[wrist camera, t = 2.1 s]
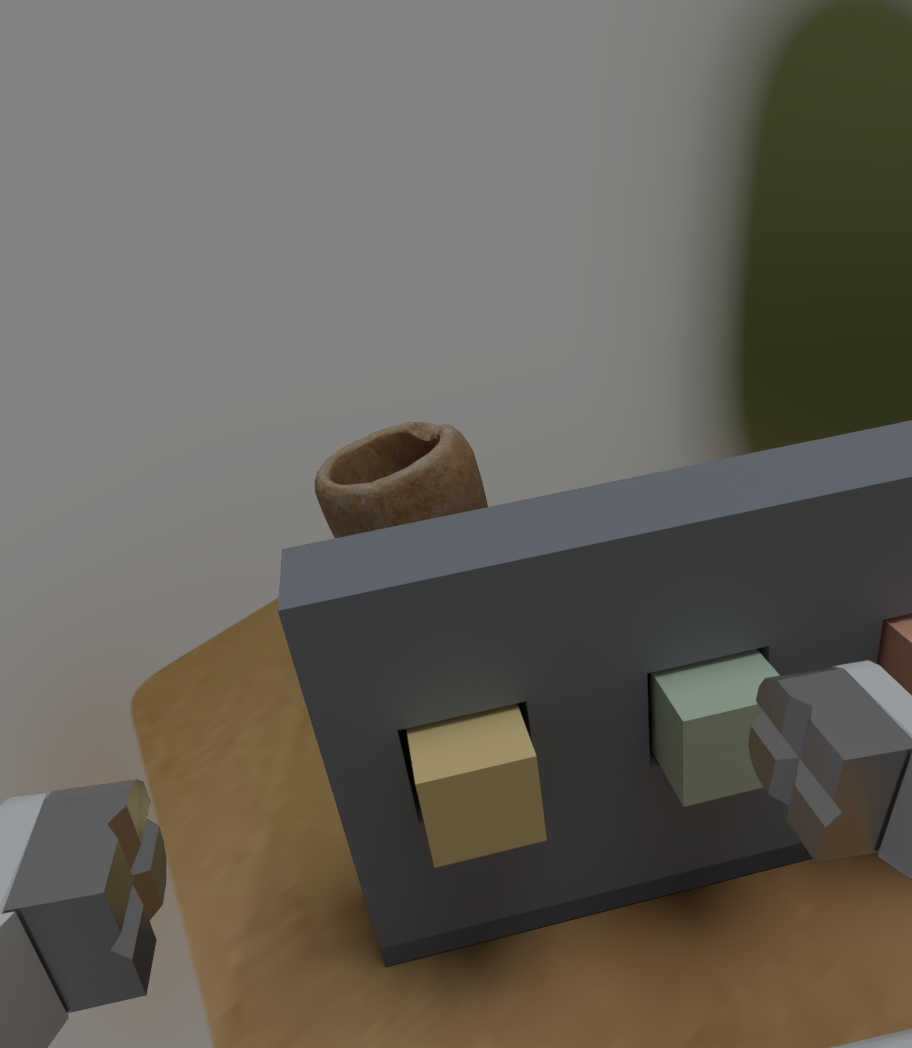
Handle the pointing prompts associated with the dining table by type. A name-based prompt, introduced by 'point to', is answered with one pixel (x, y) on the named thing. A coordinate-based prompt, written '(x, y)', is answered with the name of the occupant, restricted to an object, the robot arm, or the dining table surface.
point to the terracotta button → (897, 649)
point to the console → (586, 667)
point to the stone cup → (399, 479)
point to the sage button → (707, 724)
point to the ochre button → (477, 784)
